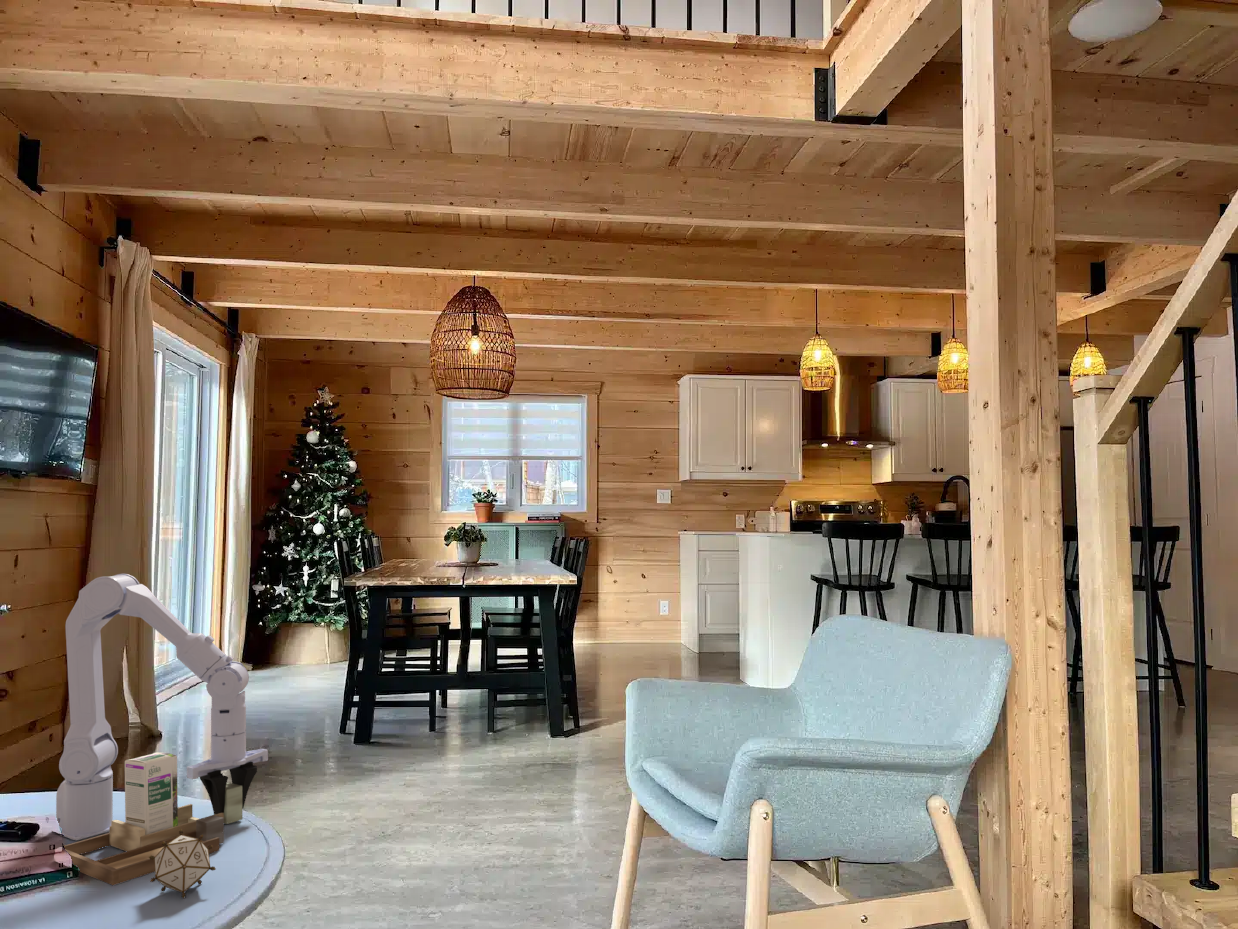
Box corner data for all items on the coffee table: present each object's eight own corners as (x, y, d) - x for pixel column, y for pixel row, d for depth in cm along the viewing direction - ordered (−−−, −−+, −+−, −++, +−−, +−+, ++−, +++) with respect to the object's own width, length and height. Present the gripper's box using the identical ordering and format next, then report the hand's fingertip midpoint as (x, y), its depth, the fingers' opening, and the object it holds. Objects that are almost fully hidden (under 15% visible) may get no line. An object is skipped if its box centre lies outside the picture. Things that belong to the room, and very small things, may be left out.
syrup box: (146, 855, 151) (146, 762, 151) (123, 849, 154) (124, 758, 154) (178, 843, 156) (178, 754, 156) (156, 838, 159) (156, 750, 159)
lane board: (53, 861, 149) (53, 848, 149) (158, 830, 162) (158, 819, 163) (113, 885, 138) (113, 871, 138) (219, 850, 152) (219, 838, 152)
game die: (175, 914, 136) (172, 846, 142) (229, 892, 136) (224, 824, 142) (135, 905, 129) (134, 833, 135) (192, 882, 129) (189, 811, 135)
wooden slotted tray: (109, 845, 155) (109, 809, 155) (219, 813, 171) (219, 780, 171) (142, 856, 149) (142, 819, 149) (252, 822, 165) (252, 788, 165)
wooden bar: (105, 871, 143) (105, 844, 143) (210, 838, 157) (210, 814, 157) (121, 878, 140) (121, 850, 140) (226, 843, 154) (226, 818, 154)
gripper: (202, 744, 159) (202, 826, 159) (278, 727, 171) (278, 803, 170) (179, 739, 163) (179, 819, 163) (254, 723, 175) (255, 797, 174)
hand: (228, 811), depth 167 cm, fingers open, 3 cm apart
